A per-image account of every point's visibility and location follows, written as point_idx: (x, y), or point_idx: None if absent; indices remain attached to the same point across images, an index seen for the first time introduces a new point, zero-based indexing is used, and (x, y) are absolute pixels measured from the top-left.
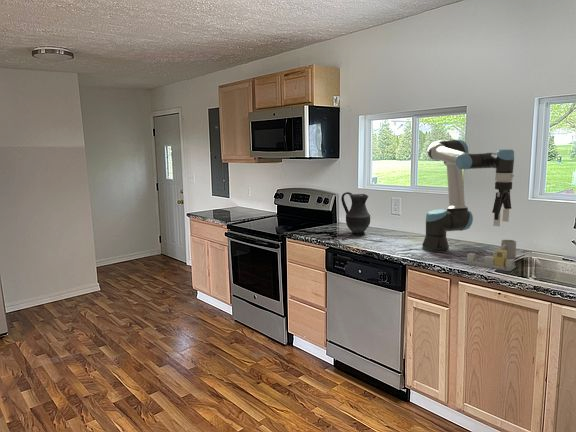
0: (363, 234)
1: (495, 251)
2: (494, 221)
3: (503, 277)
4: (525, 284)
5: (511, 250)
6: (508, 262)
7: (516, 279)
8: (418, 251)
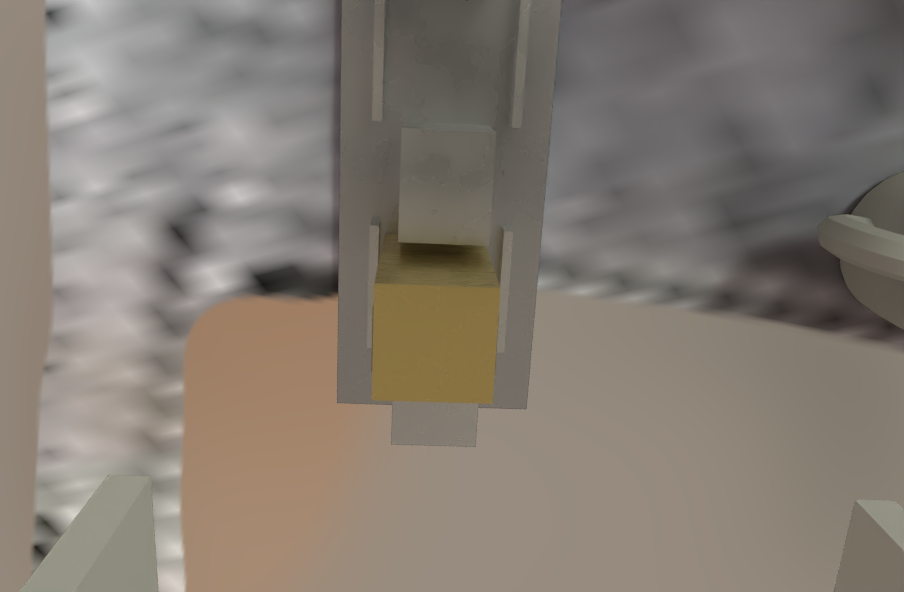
0: None
1: (374, 289)
2: (50, 573)
3: (101, 392)
4: None
5: (900, 319)
6: None
7: None
8: None
